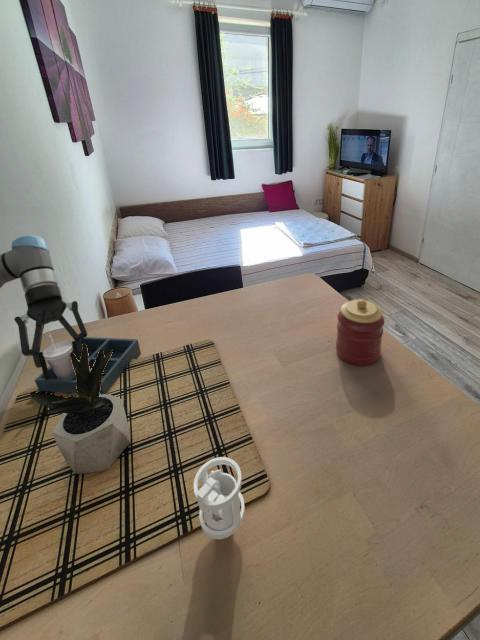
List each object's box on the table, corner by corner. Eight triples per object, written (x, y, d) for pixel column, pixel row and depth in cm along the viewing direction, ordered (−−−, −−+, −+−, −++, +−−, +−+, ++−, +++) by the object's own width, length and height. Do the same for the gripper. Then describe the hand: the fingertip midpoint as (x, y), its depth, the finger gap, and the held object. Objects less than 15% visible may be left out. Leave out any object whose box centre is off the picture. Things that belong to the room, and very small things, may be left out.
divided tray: (40, 395, 82) (34, 380, 80) (86, 350, 98) (81, 336, 96) (105, 399, 81) (100, 384, 79) (141, 353, 97) (137, 339, 95)
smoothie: (56, 374, 87) (39, 331, 81) (83, 367, 89) (69, 324, 84) (51, 391, 81) (33, 345, 76) (80, 382, 84) (65, 338, 78)
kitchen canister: (389, 359, 93) (397, 306, 86) (350, 372, 88) (354, 317, 81) (363, 334, 104) (368, 285, 97) (327, 344, 99) (330, 293, 93)
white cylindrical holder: (195, 540, 53) (182, 481, 48) (225, 501, 59) (217, 444, 53) (226, 570, 50) (216, 510, 44) (255, 526, 55) (250, 467, 49)
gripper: (84, 284, 95) (107, 358, 89) (-1, 305, 84) (19, 391, 78) (82, 274, 89) (106, 353, 83) (-10, 296, 78) (11, 388, 72)
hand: (64, 371), depth 81 cm, fingers closed on smoothie, 6 cm apart
